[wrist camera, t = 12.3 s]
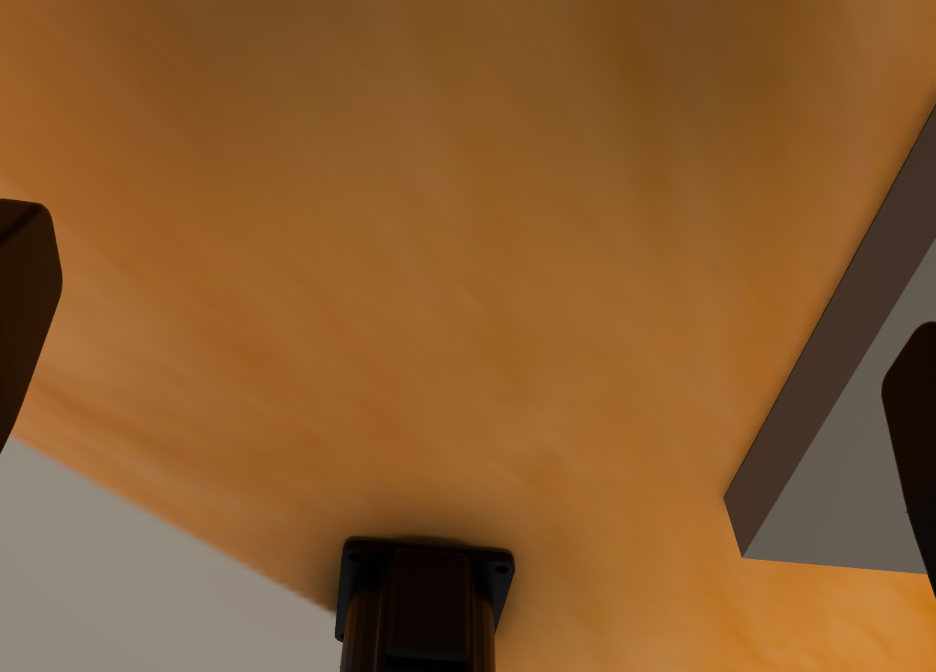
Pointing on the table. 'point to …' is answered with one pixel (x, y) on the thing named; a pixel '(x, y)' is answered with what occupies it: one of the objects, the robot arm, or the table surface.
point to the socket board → (847, 403)
